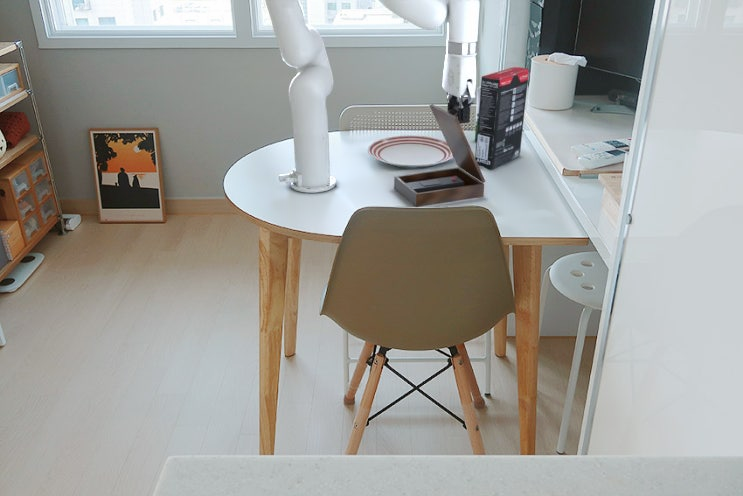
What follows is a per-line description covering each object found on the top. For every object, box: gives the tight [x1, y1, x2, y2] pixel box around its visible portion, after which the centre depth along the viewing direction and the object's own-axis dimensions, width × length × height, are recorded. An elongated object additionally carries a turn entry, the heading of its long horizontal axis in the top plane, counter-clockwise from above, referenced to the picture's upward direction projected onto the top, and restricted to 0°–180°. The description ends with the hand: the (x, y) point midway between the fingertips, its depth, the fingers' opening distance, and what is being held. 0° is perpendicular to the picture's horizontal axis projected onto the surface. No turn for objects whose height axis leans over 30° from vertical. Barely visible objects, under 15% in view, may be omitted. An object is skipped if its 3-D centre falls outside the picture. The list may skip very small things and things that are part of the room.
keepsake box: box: [393, 166, 485, 208], centre depth 189 cm, size 20×15×4 cm
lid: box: [429, 103, 486, 184], centre depth 186 cm, size 20×15×5 cm
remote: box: [406, 176, 464, 193], centre depth 189 cm, size 15×5×3 cm, turn 111°
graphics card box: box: [474, 66, 530, 170], centre depth 209 cm, size 17×7×27 cm, turn 141°
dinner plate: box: [367, 134, 454, 169], centre depth 217 cm, size 28×27×3 cm
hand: (458, 119), depth 183 cm, fingers closed on lid, 5 cm apart
